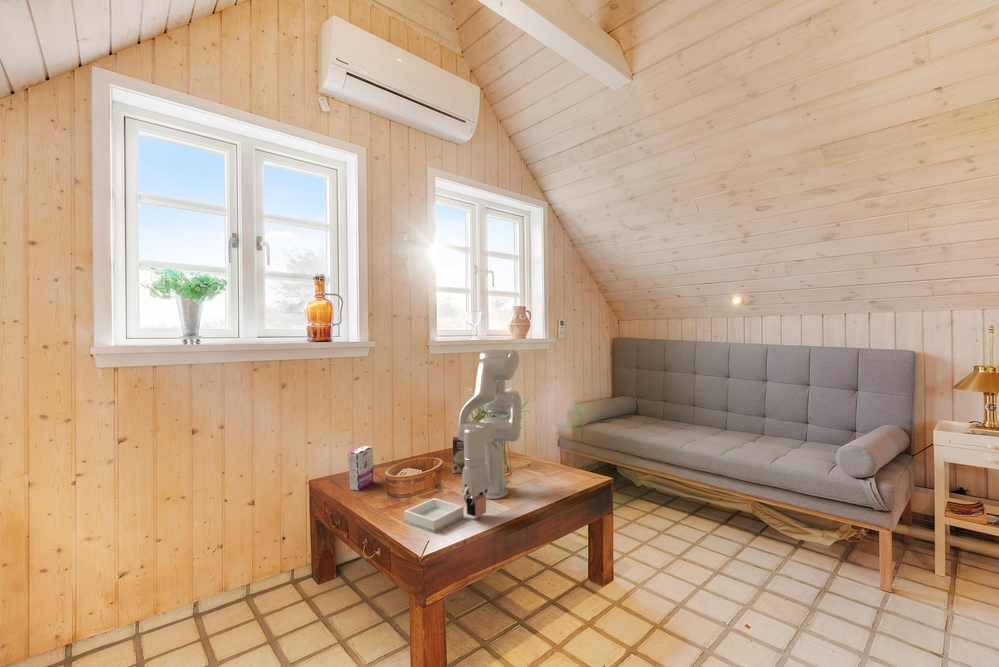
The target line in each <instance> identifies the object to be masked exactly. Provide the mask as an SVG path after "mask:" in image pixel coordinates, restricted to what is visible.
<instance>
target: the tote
mask: <svg viewBox="0 0 999 667" xmlns="http://www.w3.org/2000/svg"><path fill="white" fill-rule="evenodd" d="M464 513H465V512H464V506H463V505H459V504H457V503H453V502H449V501H446V500H443V499H439V498H435V497H433V498H430V499H429V500H426V501H424V502H421V503H419V504H417V505H414V506H413V507H410V508H408V509H406V510H403V522H404V523H405V524H409V525H410V524H411V526H413V525H414V527H416V526H417V528H419V529H421V528H422V530H424V529H425V530H424V531H427V530H428V532H430V531H431V532H430V533H432V534H434V533H437V532H439V531H441V530H442V528H443V529H444V527H445V528H447V527H448V526H450V525H452V524H454V523H456V522H458V521H460V520H462V519H463V517H465V514H464ZM440 529H441V530H440ZM436 531H437V532H436Z"/></svg>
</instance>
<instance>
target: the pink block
mask: <svg viewBox="0 0 999 667" xmlns="http://www.w3.org/2000/svg"><path fill="white" fill-rule="evenodd" d="M469 499H470V500H471V497H470V498H469ZM474 504H475V515H474V516H473V515H470V514H468V513H467V512H466V515H468V516H472V517H475V518H479V517H481V516H482V515H485V514H486V513H487V499H486V496H484V495H480V494H477V495H475V498H474ZM465 505H466V508H467V503H466V502H465Z"/></svg>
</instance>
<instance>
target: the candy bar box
mask: <svg viewBox="0 0 999 667" xmlns="http://www.w3.org/2000/svg"><path fill="white" fill-rule="evenodd" d="M373 461H374V460H373V446H369V445H363V446H361V447H358V448H357V449H354V450H351V451H349V452H348V476H349V490H350V491H361V490H362V489H364V488H366V487H368V486H370V485H371V484H373V483H374V465H373V464H374V463H373Z"/></svg>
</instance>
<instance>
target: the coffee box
mask: <svg viewBox="0 0 999 667" xmlns="http://www.w3.org/2000/svg"><path fill="white" fill-rule="evenodd" d="M464 467H465V461H464V441H461V440H460V439H459V438H458V436H453V438H452V474H453V473H461V474H462V473H463V468H464Z"/></svg>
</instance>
